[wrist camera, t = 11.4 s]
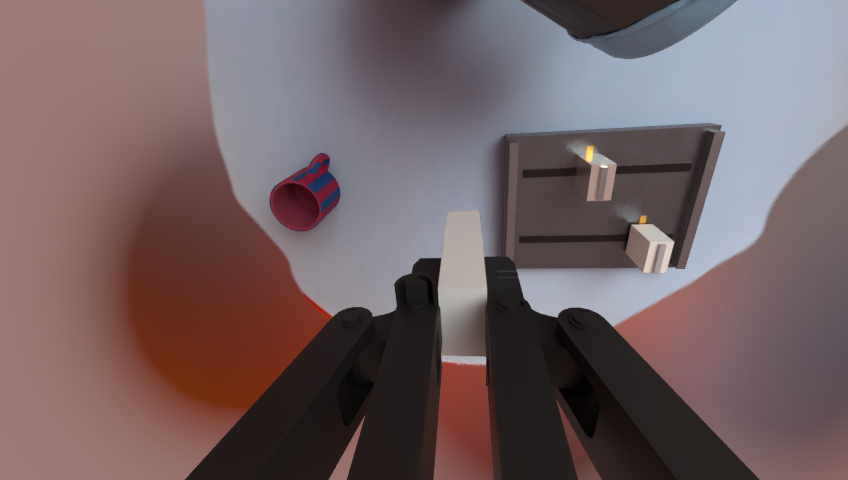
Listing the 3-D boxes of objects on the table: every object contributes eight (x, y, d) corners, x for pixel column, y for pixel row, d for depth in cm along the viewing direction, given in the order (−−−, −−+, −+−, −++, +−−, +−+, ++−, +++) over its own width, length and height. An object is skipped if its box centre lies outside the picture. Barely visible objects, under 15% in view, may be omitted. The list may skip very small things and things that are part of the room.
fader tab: (631, 224, 43) (652, 243, 38) (652, 224, 43) (676, 243, 38) (625, 252, 45) (644, 274, 40) (645, 252, 45) (667, 274, 40)
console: (505, 134, 42) (512, 145, 36) (709, 123, 39) (759, 133, 33) (501, 261, 50) (507, 290, 43) (672, 259, 47) (706, 290, 41)
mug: (286, 193, 49) (261, 210, 43) (318, 136, 45) (294, 146, 39) (326, 220, 50) (307, 240, 44) (360, 166, 46) (344, 181, 40)
